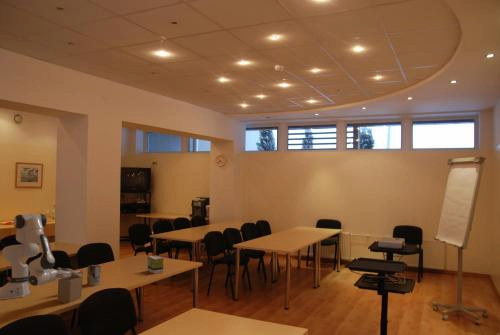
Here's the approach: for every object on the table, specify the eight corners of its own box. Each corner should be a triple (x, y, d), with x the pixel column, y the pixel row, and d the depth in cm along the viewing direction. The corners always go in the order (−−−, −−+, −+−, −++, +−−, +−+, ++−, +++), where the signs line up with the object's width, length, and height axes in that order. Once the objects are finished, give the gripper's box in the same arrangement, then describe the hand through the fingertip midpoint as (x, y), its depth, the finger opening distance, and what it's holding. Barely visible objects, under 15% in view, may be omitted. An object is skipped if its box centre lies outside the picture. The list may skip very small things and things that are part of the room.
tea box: (146, 271, 384) (147, 256, 385) (156, 269, 391) (156, 255, 391) (154, 274, 373) (154, 258, 373) (163, 272, 380) (163, 257, 380)
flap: (69, 269, 284) (70, 268, 284) (57, 268, 287) (57, 267, 287) (81, 276, 296) (82, 276, 297) (69, 275, 299) (70, 274, 300)
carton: (69, 302, 284) (70, 280, 285) (57, 301, 287) (58, 279, 288) (81, 297, 296) (81, 276, 296) (69, 296, 299) (69, 275, 299)
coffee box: (100, 284, 335) (100, 265, 335) (95, 286, 329) (95, 267, 329) (92, 282, 338) (92, 264, 338) (86, 284, 332) (87, 266, 333)
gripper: (63, 272, 271) (77, 268, 284) (39, 269, 277) (54, 265, 290) (62, 281, 271) (76, 276, 284) (39, 278, 277) (54, 274, 290)
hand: (65, 271), depth 287 cm, fingers closed, pressing on flap
